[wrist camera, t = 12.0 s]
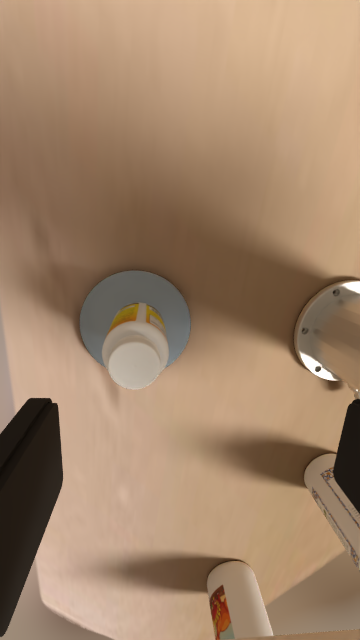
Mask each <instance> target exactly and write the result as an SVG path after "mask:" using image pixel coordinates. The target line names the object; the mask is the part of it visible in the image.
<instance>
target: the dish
mask: <svg viewBox="0 0 360 640" xmlns="http://www.w3.org/2000/svg"><path fill="white" fill-rule="evenodd" d="M137 302H140V303H146V304H149V305H151V306H153V307H154V308H155V309H157V310H158V312H159V313H160V314H161V316H162V318H163V321H164V325H165V330H166V336H167V341H168V347H169V357H168V361H167V364H166V366H165V368H166V367H167V366H169V365H170V364H172V363H173V362H174V361H175V360H176V359H177V358H178V357H179V355H180V354H181V353H182V351H183V350H184V348H185V346H186V344H187V342H188V338H189V335H190V329H191V320H190V313H189V309H188V306H187V304H186V302H185V300H184V298H183V296H182V295H181V293H180V292H179V291H178V289H177V288H176V287H175V286H174V285H173V284H171V283H170V282H169V281H168V280H166V279H164V278H163V277H161V276H159V275H156V274H154V273H150V272H147V271H140V270H130V271H123V272H119V273H116V274H113V275H111V276H109V277H107V278H105V279H104V280H102V281H101V282H100V283H98V284H97V285H96V286H95V287H94V288H93V289H92V290H91V292H90V293H89V294H88V296H87V298H86V299H85V301H84V304H83V306H82V309H81V314H80V332H81V337H82V339H83V342H84V344H85V346H86V348H87V350H88V351H89V353H90V354H91V355H92V357H93V358H94V359H95V360H96V361H97V362H99V363H100V364H101V365H102V366H104V367H105V365H104V362H103V358H102V348H103V344H104V341H105V338H106V336H107V334H108V331H109V329H110V326H111V324H112V322H113V319H114V317H115V315H116V314H117V312H118V311H119V310H120V309H121V308H123V307H124V306H126V305H128V304H131V303H137Z"/></svg>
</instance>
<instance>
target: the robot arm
mask: <svg viewBox="0 0 360 640" xmlns="http://www.w3.org/2000/svg"><path fill="white" fill-rule="evenodd" d="M294 346H295V350H296V354H297V356H298V358H299V360H300V361H301V363H302V364H303V365H304V366H305V367H306V368H307V369H308V370H309V371H310V372H311V373H313V374H315V375H316V376H318V377H320V378H323V379H326V380H333V381H341V380H343V381H344V382H346V383H347V384H348V386H349V388H350V389H351V390H352V391H354V396H355V400H354V401H353V402H352V404H350V405H349V406H348V409H347V413H346V417H345V421H344V425H343V430H342V434H341V438H340V442H339V447H338V451H337V455H336V459H335V464H334V468H333V476H334V479H335V481H336V483H337V484H338V486H339V487H340V488H341V490H342V491H343V492H344V494H345V495H346V496H347V498H348V499H349V500H350V502H351V503H352V504H353V506H354V507H355V509H356V510H357V511H358V513H359V514H360V281H359V280H346V281H341V282H337V283H334V284H332V285H329V286H327V287H326V288H324V289H323V290H321V291H319V292H318V293H317V294H316V295H315V296H314V297H312V298H311V299H310V300H309V302H308V303H307V304H306V305H305V307H304V308H303V310H302V312H301V314H300V315H299V317H298V320H297V323H296V326H295V332H294ZM62 482H63V468H62V454H61V440H60V426H59V412H58V405H57V403H52V400H51V399H50V398H29V399H28V400H27V401H26V403H25V404H24V405H23V406H22V408H21V409H20V410H19V411H18V413H17V414H16V415H15V416H14V418H13V419H12V420H11V422H10V423H9V424H8V425H7V426H6V428H5V429H4V430H3V431H2V433H1V434H0V637H2V636H3V635H4V634H5V632H6V630H7V628H8V626H9V623H10V621H11V618H12V616H13V613H14V611H15V608H16V605H17V603H18V600H19V597H20V595H21V592H22V589H23V587H24V584H25V581H26V579H27V577H28V574H29V571H30V569H31V566H32V563H33V561H34V558H35V556H36V553H37V550H38V548H39V545H40V543H41V540H42V537H43V535H44V532H45V529H46V527H47V524H48V522H49V519H50V516H51V514H52V511H53V509H54V506H55V503H56V501H57V498H58V495H59V493H60V490H61V487H62ZM225 640H360V629H357V630H342V631H329V632H318V633H317V632H316V633H302V634H289V635H276V636H263V637H250V638H237V639H225Z"/></svg>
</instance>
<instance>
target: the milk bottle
mask: <svg viewBox="0 0 360 640" xmlns="http://www.w3.org/2000/svg"><path fill="white" fill-rule="evenodd" d="M207 589H208V596H209V602H210V609H211V615H212V621H213V627H214V633H215V639H216V640H225V639H237V638H250V637H263V636H274V635H273V632H272V629H271V626H270V622H269V619H268V616H267V613H266V610H265V606H264V603H263V600H262V597H261V593H260V590H259V587H258V584H257V581H256V578H255V575H254V572H253V570H252V569H251V568H250V566H248V565H247V564H246V563H244V562H240V561H229V562H225V563H222V564H220V565H218V566H217V567H215V568H214V569H213V570H212V571H211V573H210V574H209V576H208V580H207Z"/></svg>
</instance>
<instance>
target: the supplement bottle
mask: <svg viewBox="0 0 360 640" xmlns="http://www.w3.org/2000/svg"><path fill="white" fill-rule="evenodd" d="M168 357H169V347H168V341H167V336H166V330H165V325H164V321H163V318H162V316H161V314H160V313H159V312H158V310H157V309H155V308H154V307H153V306H151V305H149V304H146V303H140V302H137V303H131V304H128V305H126V306H124V307H123V308H121V309H120V310H119V311H118V312H117V314H116V315H115V317H114V319H113V322H112V324H111V326H110V329H109V331H108V334H107V336H106V338H105V341H104V344H103V348H102V358H103V362H104V365H105V367H106V368H107V370H108V371H109V374H110V376H111V378H112V379H113V381H114V382H116V383H117V384H118V385H120V386H121V387H124V388H126V389H141V388H144V387H147V386H148V385H150V384H151V383H152V382H153V381H154V380H155V379H156V378H157V376H158V375H159V374H160V373H161V372H162V371H163V369H164V368H165V366H166V364H167V361H168Z"/></svg>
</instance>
